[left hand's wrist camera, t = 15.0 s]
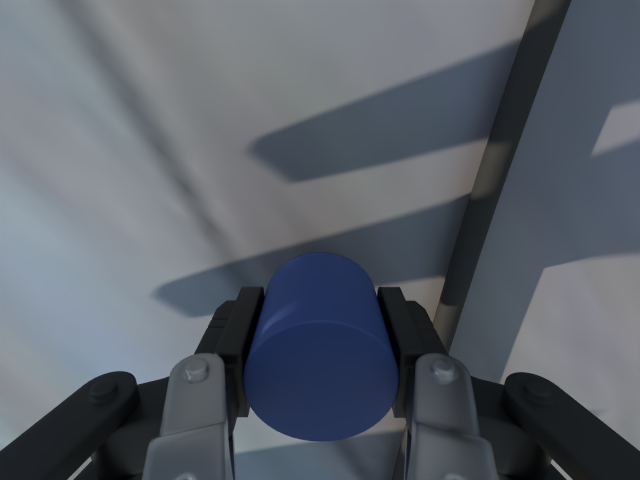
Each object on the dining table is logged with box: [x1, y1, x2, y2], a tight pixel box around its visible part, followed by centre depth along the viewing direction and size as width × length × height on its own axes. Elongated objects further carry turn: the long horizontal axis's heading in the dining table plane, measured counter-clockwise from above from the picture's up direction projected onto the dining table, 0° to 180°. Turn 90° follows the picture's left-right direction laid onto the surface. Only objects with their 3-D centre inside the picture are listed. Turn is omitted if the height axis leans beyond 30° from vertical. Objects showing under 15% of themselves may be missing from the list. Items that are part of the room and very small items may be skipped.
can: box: [243, 252, 399, 441], centre depth 11 cm, size 4×4×4 cm
